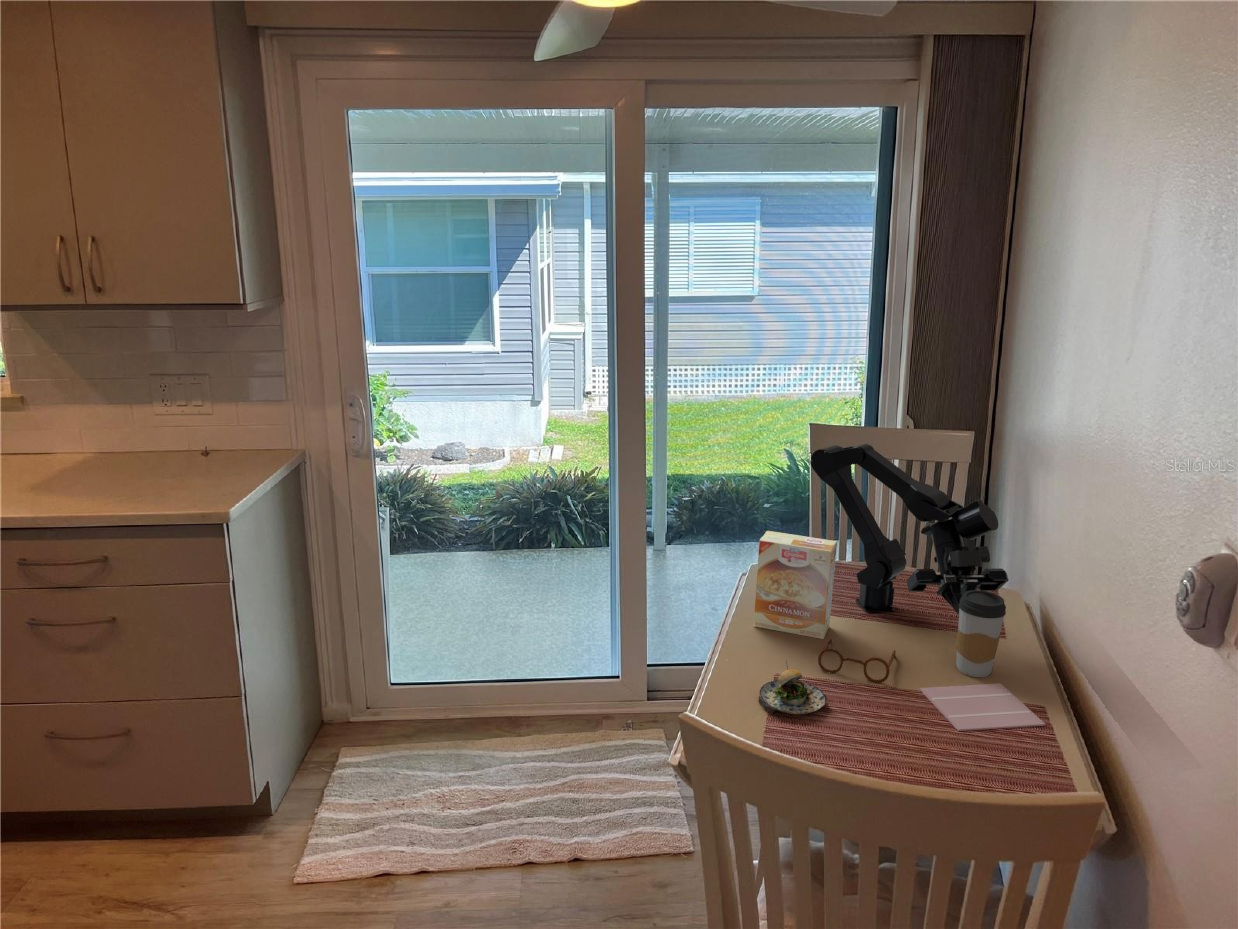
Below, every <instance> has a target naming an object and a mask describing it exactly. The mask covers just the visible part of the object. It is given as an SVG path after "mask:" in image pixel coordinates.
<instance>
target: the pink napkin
mask: <svg viewBox="0 0 1238 929" xmlns="http://www.w3.org/2000/svg"><path fill="white" fill-rule="evenodd" d="M919 691H920V692H921V693H922V694H923V695H924V696H925V697H926V698H927V700H929V701H930V703H932V704H933V706H934V707H935V708H936V709H937V710H938V711H939V713H941V715H942V716H943V717H945V719H946V720H947V721H948V722H949V723H950V724H951V725H952V726H953V727H954V729H957V731H958V732H963V731H964V732H965V731H980V730H981V731H982V730H998V729H1008V728H1009V729H1011V728H1012V729H1013V728H1027V727H1028V728H1029V727H1045V726H1046V723H1045V722H1044V721H1043V720H1041V718H1039V717H1038V716H1037V715H1036V713H1034V712H1033V711H1032V710H1031V709H1030V708H1029V707H1027V706H1026V705H1025V704H1024V703H1023V702H1022V701H1021V700H1020V699H1018V698H1017V697H1016V696H1015V695H1014V694H1013V693H1012V692H1011V691H1009V689H1008V688H1006V686H1004V685H1003V684H1002V683H985V684H969V685H952V686H950V685H949V686H934V687H932V686H929V687H919Z"/></svg>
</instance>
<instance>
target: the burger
mask: <svg viewBox="0 0 1238 929" xmlns="http://www.w3.org/2000/svg"><path fill="white" fill-rule="evenodd" d="M785 661H786V662H785V663H786V664H788V661H787V659H786V660H785ZM788 667H789V666H788V665H786V668H787V669H786V670H784V671H782V673H781V674H779V677H778V678H777V679H775V680H771V681H768V682H766V683H765V684H763V685H762V686H761V687H760V690H759V696H758V703H759V705H760V707H762V708H763V710H764V711H766V712H767V713H768V714H770V715H773V714H774V712H775V711H778V712H780V713H783V714H790V715H804V714H810V713H813V712H816V711H819V710H820V709H821V708H823V707H824V706H826V703H827V702H828V696H827V694H825V693H824V692H823V690H822V689H821V690H820V689H819V687H817V686H815V685H813V684H810V683H808V682H804V681H801V680H800V679H802V678H803V675H802V673H801V672H800V671H798V670H797V669H788Z"/></svg>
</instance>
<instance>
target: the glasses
mask: <svg viewBox="0 0 1238 929" xmlns="http://www.w3.org/2000/svg"><path fill="white" fill-rule="evenodd" d="M832 644H833V638H829V640H828V642H827V643H826V644H825V646H824V648H823V649H822V650H820V653H819V654H818V657H817V662H818V666H819V668H820V669H821V670H822V671H823V672H825V673H828V672H830V673H829V674H837V673H839V672H840V671H841V669H842V668H843V665H844V662H852V663H857V664H860V665H862V667H863V669H862V670H863V675H864V677H865V679H866V680H868V682H871V683H876V684H881V683H884V682H885V681H886V680H887V679H888V678H889V675H890V667H891V665H892V662H894V661H893V660H894V658H895V657H896V650H895V649H894V650H893V651H892V653H891V656H890V659H889V661H888V662H887V661H886V660H885V659H883V658H881V657H877V656H876V657H875V656H874V657H869V658H868V659H865V661H863V660H861V659H859V658H854V657H853V658H852V657H844V655H843V654H842V653H841V651H839V650H837V649H836V648H831V647H830V645H832ZM827 652H828V653H829V652H830V653H834V654H835V655H837V656H838V657H839V661H840V662H839V666H838V667H837V668H836V669H828V668H826V667H825V666H824V664H823V663H822V658H823V656H824V654H825V653H827ZM871 662H879V663H881V664H883V666H884V667H885V675H884V676H883V678H881V679H875V678H872V677H870V675H869V674H868V672H867V671H868V670H867V668H868V667H867V666H868V665H869V663H871ZM887 681H888V680H887Z"/></svg>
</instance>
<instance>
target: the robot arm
mask: <svg viewBox="0 0 1238 929" xmlns="http://www.w3.org/2000/svg"><path fill="white" fill-rule="evenodd" d="M809 462H810V463H809V464H810V467H811V468H812V471H813V472H815V474H816V475H817V477H818V478H819V480H820V481H822V482H823V483H824V484H826V485H827V486H829V487H830V488H831V489H832V491H833V492H834V494H835V496H836V498H837V499H838V502H839V503H840V505H841V507H842V509H843V510H844V512H845V514H846V516H847V518H848V520H849V522H850V524H851V525H852V528H854V530H855V533H856V534H857V536H858V538H859V539H860V542H861V543H862V546H863V559H864V562H865V564H866V567H865V568H863V569H861V570H860V571H859V572H857V573H856V578H857V583H858V584H860V585H859V595H858V596H859V597H858V598H856V599H855V602H856V604H858V606H859V607H860V608H861V609H862V610H863V611H864V612H865V613H869V614H870V613H889V612H890V613H893V612H894V611H895V609H894V608H893V607H892V606H893V605H894V597H895V588H894V582H893V580H895V579H897V577H898V575H900V574H902V573H903V572H904V570H906V566H907V559H906V556H907V552H905V551H904V550H903V549H902V547H901V544H900V542H899V540H898V539H897V538H894V539H892V540H890V539H889V538H888V537H886V536H885V535H884V533H883V532H882V530H881V528H880V527H879V524H878V522H877V521H876V519H875V518H874V516H873V514H872V512H871V510H870V509H869V506H868V504H867V503H866V501H865V499H864V497H863V496H862V494H861V492H860V490H859V489H858V487H857V485H856V483H855V482H854V479H853V474H852V473H853V472H852V465H858V466H859V467H861V468H862V469H863V470H864V471H866V472H867V473H869V475H871V476H872V477H874V478H875V479H876V480H877V481H878V482H880V483H881V484H882V485H884V486H885V487H887V488H888V489H890V491H892V492H893V493H895V494H896V495H897V496H898V497H899V498H900V499H901V500H902V502H903V504H904V506H905V508H906V509H907V510H908V511H909V512H910V514H912V515H913V517H915V519H917V520H918V521H921V522H922V523H925V522H926V523H925V525H924V526H923V527H922V528H921V530H920V534H923V535H925V536H927V537H930V538H931V539H932V543H933V548H934V552H935V553H934V554H935V556H934V558H933V560H934V563H937V566H938V570H939V574H937V573H936V570H935V569H933V568H915V570H914V571H913V572H912V573H911V574H910V575H909V577H908V578H907V581H906V585H907V590H908V592H911V593H912V592H913V593H915V592H919V593H920V592H921V593H922V592H924V591H925V589H926V588H927V586H929V585H930V586H931V585H932V586H933V585H937V587H938V590H937V591H936V596H941V597H942V598H943V599H944V600H945V601H946V602H947V603H948V605H950V606H951V607H952V609H953V610H954V611H955V613H956V614H957V616H959V609H960V608H959V603H960V599H961V597H963V594H964V593H965V592H967V591H971V590H980V591H987V592H996V591H998V590H1000V589H1001V588H1002V587H1003V586H1005V584H1006V583H1008V582H1009V576H1008V574H1007V572H1006V570H1005V569H1003V568H985V569H983V571H981V573H980V574H972V572H975V571H976V567H979V568H982V567H983V563H984V564H985V563H986V564H987V563H990V562H991V554H990V551H989V547H988V545H987V546H985V545H984V546H983V545H982V546H981V545H979V546H975V547H974V550H971V549H970V550H969V548H968V546H965V544H964V541H963V539H967V540H969V541H972V540H975V539H977V538H979V537H980V538H981V537H982V536H984V535H986V534H989V533H992V532H995V531H997V529H998V528H999V520H998V517H997V515H996V513H995V511H994V510H992V508H990V506H988V505H987V504H985V503H984V502H983V500H982V499H981V498H979V499H976V500H974V501H973V502H971V503H969V504H968V505H966V506H963V505H961V504H959V503H958V502H956V501H954V500H952V499H950V498H949V496H948V495H947V493H945V492H944V491H942V490H940V489H938V488H937V487H934V486H932V485H931V484H928V483H925V482H921V481H918V480H916V479H915V478H913V477H912V476H910V475H909V474H908V473H906V472H905V471H904V470H902V469H901V468H900V467H898V465H896V464H894V463H893V462H892V461H890V460H889V459H888V458H886V457H885V456H883V455H882V454H880V453H879V452H878V451H877V450H875V449H874V447H873V446H872V445H871V444H868V443H863V444H859V445H851V446H847V447H843V446H840V445H838V444H834V445H833V444H832V445H829V446H827V447H823V448H820V449H819V448H818V449H816V450H814V452H813V453H812V455H811V458H810V461H809ZM932 521H935V522H933V523H931V522H932Z"/></svg>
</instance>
